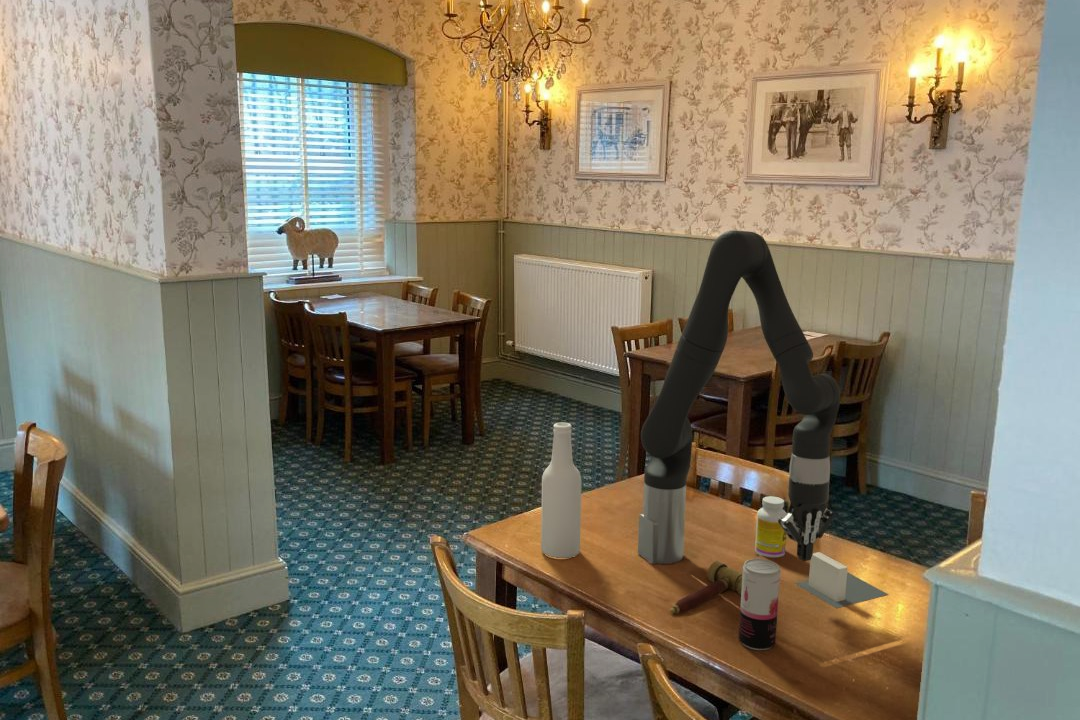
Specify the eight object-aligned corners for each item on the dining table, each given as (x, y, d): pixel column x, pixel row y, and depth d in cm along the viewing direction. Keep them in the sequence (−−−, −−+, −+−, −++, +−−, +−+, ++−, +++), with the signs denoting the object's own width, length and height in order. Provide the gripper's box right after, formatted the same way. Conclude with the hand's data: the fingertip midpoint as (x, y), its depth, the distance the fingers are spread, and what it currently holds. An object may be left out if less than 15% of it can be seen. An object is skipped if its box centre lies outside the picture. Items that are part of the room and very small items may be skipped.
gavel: (690, 611, 168) (651, 591, 175) (690, 632, 169) (652, 612, 176) (759, 574, 180) (721, 558, 188) (759, 594, 182) (720, 577, 189)
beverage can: (781, 649, 160) (787, 572, 157) (747, 653, 159) (752, 575, 156) (765, 631, 166) (770, 556, 163) (732, 634, 165) (737, 559, 162)
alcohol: (587, 551, 201) (590, 424, 195) (563, 564, 194) (565, 432, 188) (557, 541, 206) (559, 416, 200) (533, 553, 200) (534, 424, 193)
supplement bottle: (785, 561, 197) (789, 506, 194) (755, 558, 198) (758, 503, 196) (783, 549, 203) (787, 495, 201) (754, 546, 205) (757, 493, 202)
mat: (836, 610, 174) (836, 608, 174) (794, 585, 185) (794, 583, 185) (888, 597, 180) (888, 594, 180) (845, 573, 191) (845, 571, 191)
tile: (836, 601, 177) (839, 569, 175) (808, 585, 184) (810, 553, 182) (845, 599, 178) (847, 567, 176) (816, 583, 185) (819, 551, 183)
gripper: (821, 466, 179) (816, 546, 182) (769, 475, 173) (765, 558, 177) (849, 476, 172) (843, 560, 176) (796, 487, 167) (791, 573, 170)
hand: (804, 559), depth 176 cm, fingers closed
